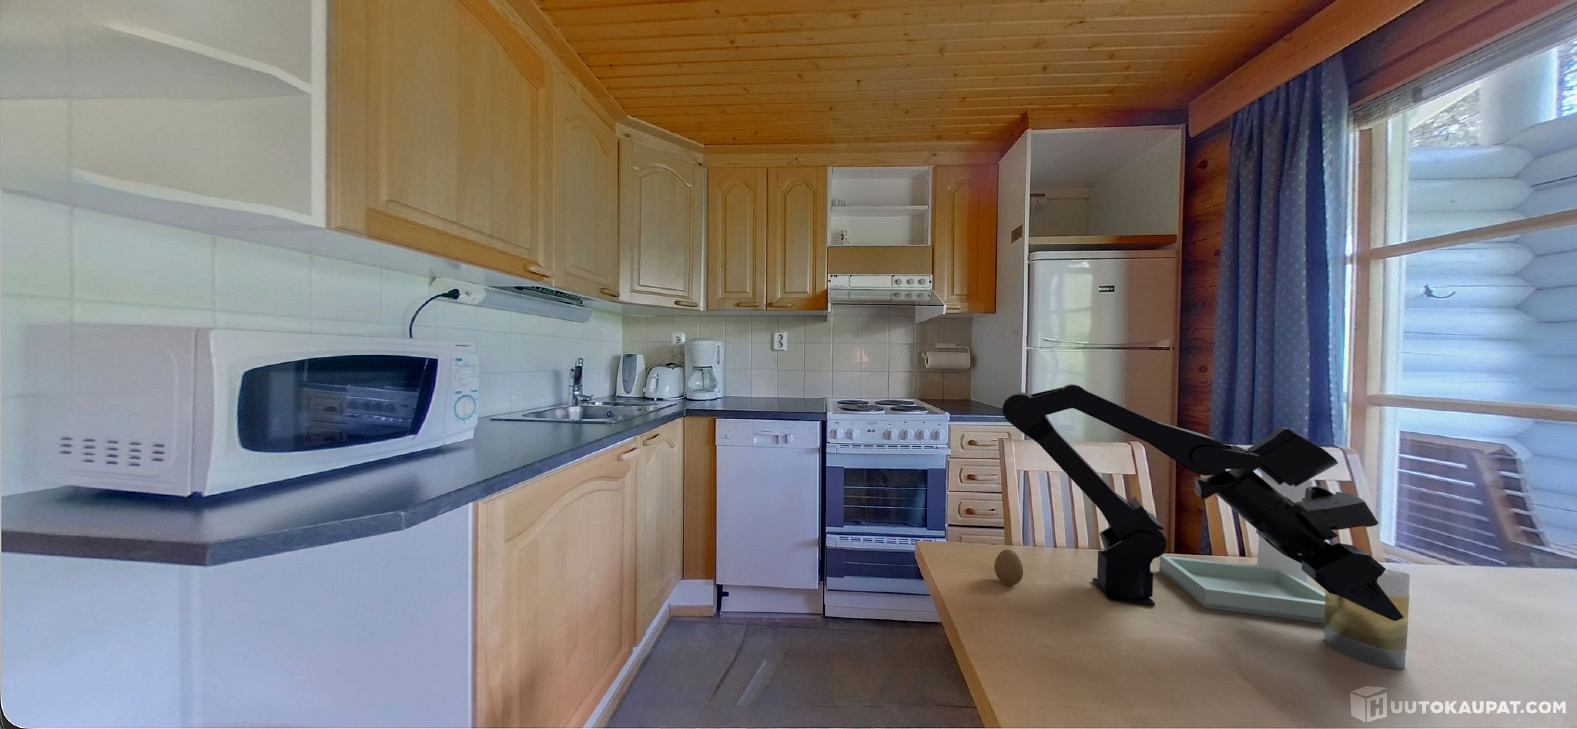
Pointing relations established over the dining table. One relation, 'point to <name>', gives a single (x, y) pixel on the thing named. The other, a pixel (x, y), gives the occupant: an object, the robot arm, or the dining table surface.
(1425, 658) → the dining table surface
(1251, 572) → the pale green tray
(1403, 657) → the tin can
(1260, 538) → the milk
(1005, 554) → the egg
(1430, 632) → the dining table surface
